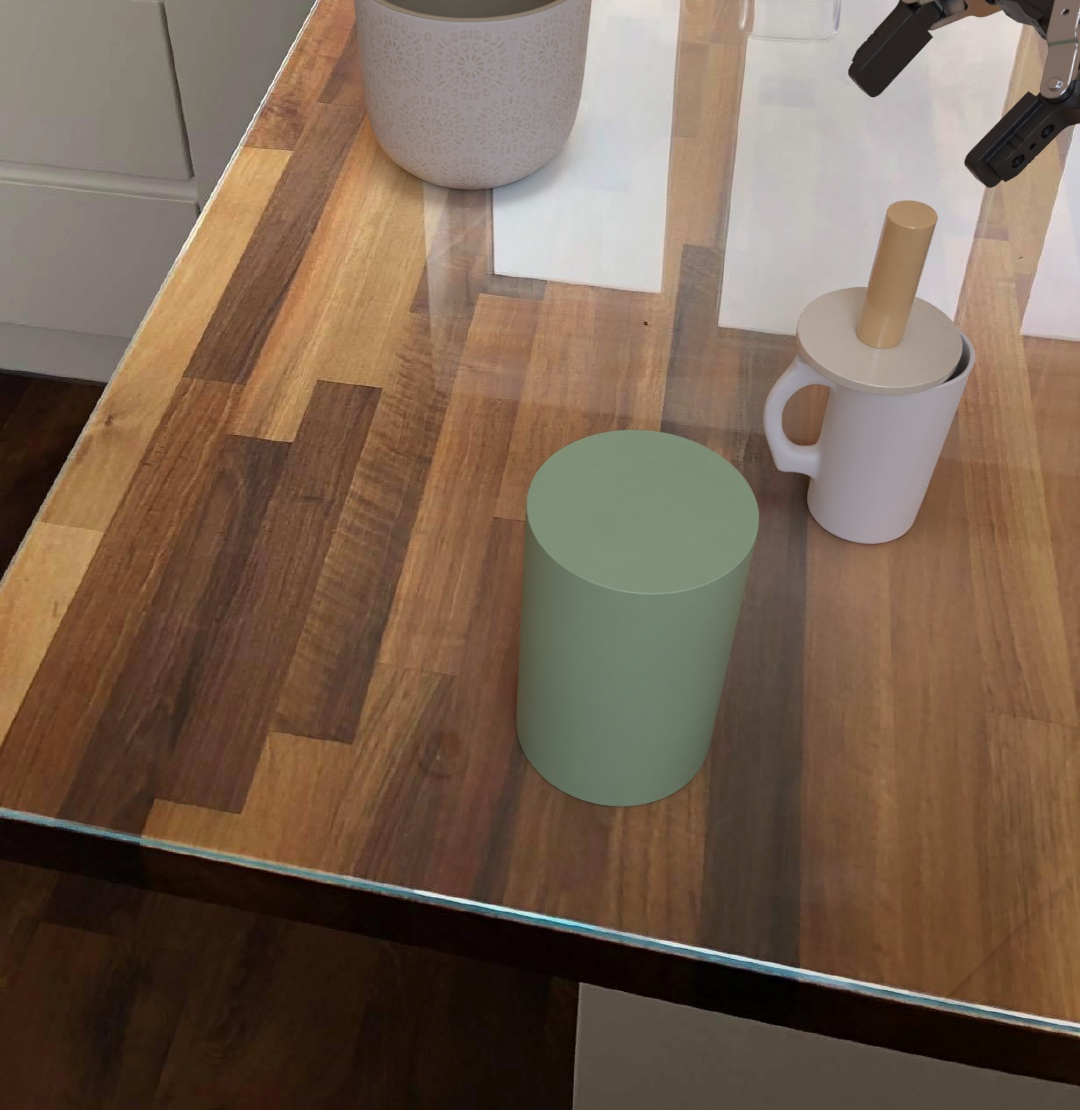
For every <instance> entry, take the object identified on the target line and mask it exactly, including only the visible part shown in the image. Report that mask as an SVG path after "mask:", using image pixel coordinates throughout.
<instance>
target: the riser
mask: <svg viewBox="0 0 1080 1110" xmlns="http://www.w3.org/2000/svg"><path fill="white" fill-rule="evenodd" d="M524 519H525V522H524V540H523V541H524V543H523V562H522V565H523V566H522V583H521V605H520V625H519V648H518V649H519V650H518V667H517V689H516V690H517V691H516V709H515V710H516V712H515V729H516V733H517V739H518V741H519V744H520V747H521V750H522V752H523V754H524V755H525V757H526V759H527V760H528V762H529V763H530V765H531V766H532V767H533V768H534V770H535V771H536V772H537V773H538V774H539V775H540V776H541V777H542V778H543V779H544V780H545V781H547V782H548V783H549V784H550V785H552V786H553V787H555V788H556V789H558V790H559V791H560V792H563V793H565V794H567V795H568V796H571V797H573V798H576V799H578V800H581V801H584V802H585V803H586V802H587V803H591V804H595V805H599V806H608V807H635V806H642V805H646V804H651V803H654V802H657V801H660V800H663V799H665V798H667V797H669V796H671V795H674V794H675V793H676V792H678V791H680V790H681V789H683V788H684V787H685V786H686V785H687V784H689V782H690V781H692V780H693V779H694V777H695V776H696V775H697V774H698V773H699V772H700V770H701V769H702V767H703V765H704V763H705V762H706V759H707V756H708V754H709V751H710V747H711V742H712V737H713V734H714V730H715V724H716V721H717V715H718V711H719V707H720V703H721V698H722V694H723V690H724V689H723V688H724V684H725V680H726V676H727V671H728V667H729V663H730V658H731V654H732V649H733V644H734V640H735V637H736V633H737V632H736V631H737V627H738V622H739V619H740V614H741V609H742V604H743V600H744V595H745V591H746V587H747V583H748V577H749V574H750V568H751V564H752V560H753V556H754V551H755V547H756V542H757V538H758V533H759V529H760V510H759V506H758V502H757V499H756V496H755V493H754V491H753V489H752V488H751V486H750V484H749V481H747V480H746V478H745V477H744V476H743V475H742V473H741V472H740V471H739V470H738V469H737V468H736V467H735V466H734V465H733V464H732V463H731V462H730V461H728V460H727V459H726V458H725V457H723V456H722V455H721V454H719V453H718V452H716V451H715V450H713V449H711V448H709V447H708V446H705V445H703V444H701V443H699V442H697V441H694V440H691V439H689V438H686V437H684V436H680V435H676V434H673V433H668V432H663V431H658V430H646V429H619V430H608V431H604V432H599V433H595V434H592V435H588V436H584V437H582V438H580V439H577V440H575V441H572V442H570V443H569V444H567V445H565V446H563V447H562V448H560V449H559V450H557V451H556V452H555V453H553V454H552V455H550V457H549V458H547V459H546V460H545V461H544V462H543V463H542V464H541V466H540V467H539V468H538V469H537V471H536V473H535V474H534V476H533V478H532V479H531V481H530V484H529V487H528V490H527V495H526V501H525V518H524Z"/></svg>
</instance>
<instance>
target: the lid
mask: <svg viewBox="0 0 1080 1110" xmlns="http://www.w3.org/2000/svg"><path fill="white" fill-rule="evenodd" d="M938 219H939V216H938V213H937V211H936V210H935V209H934V208H933V207H932V206H930V205H928V204H927V203H925V202H921V201H916V200H911V199H909V200H899V201H896V202H893V203H892V204H890V205H889V206H888V207H887V209H886V212H885V216H884V219H883V224H882V227H881V232H880V235H879V239H878V243H877V246H876V250H875V255H874V258H873V263H872V267H871V270H870V275H869V278H868V282H867V285H866V286H856V287H855V286H854V287H853V286H852V287H846V288H841V289H837V290H833V291H830V292H826V293H825V294H823V295H820V296H818V297H817V298H815V299H813V300H812V301H810V302H809V304H807V305H806V307H804V309H803V310H802V312H801V313H800V315H799V317H798V320H797V325H796V328H795V329H796V330H795V342H796V346H797V349H798V350H799V353H801V355H802V356H803V358H804V359H805V360H806V362H807V363H808V364H809V365H810V366H811V367H812V368H813V369H815V370H816V371H817V372H818V373H820V374H821V375H823V376H824V377H825V378H827V379H829V380H831V381H833V382H835V383H837V384H839V385H842V386H844V387H847V388H850V389H853V390H856V391H860V392H864V393H870V394H876V395H909V394H914V393H919V392H923V391H926V390H929V389H931V388H934V387H936V386H938V385H940V384H941V383H943V382H944V381H946V380H947V379H948V378H949V377H950V376H951V375H952V374H953V373H954V372H955V370H956V368H957V366H958V364H959V361H960V358H961V355H962V348H963V345H962V338H961V336H960V333H959V331H958V329H957V327H958V326H957V325H956V324H955V323H954V321H953V320H952V319H951V318H950V317H949V316H948V315H947V314H946V313H945V312H943V311H942V310H941V309H940V308H938V307H937V306H935V305H934V304H932V303H930V302H928V301H926V300H925V299H922V298H920V297H918V296H916V295H917V292H918V289H919V285H920V282H921V278H922V275H923V272H924V268H925V264H926V260H927V257H928V254H929V250H930V248H931V244H932V240H933V237H934V233H935V230H936V226H937V222H938Z"/></svg>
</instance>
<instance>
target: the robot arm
mask: <svg viewBox="0 0 1080 1110" xmlns="http://www.w3.org/2000/svg"><path fill="white" fill-rule="evenodd" d="M999 12H1003V13H1004V15H1005V16H1006V17H1008V18H1010V19H1011V20H1013V21H1014V22H1016V23H1018V24H1023V25H1027V26H1031V27H1033V28H1034V29H1035V31H1036V32H1037V34H1038V35H1039V36H1040V38H1041V39H1043V40H1045V41H1046V44H1047V55H1046V59H1045V63H1044V68H1043V73H1042V77H1041V81H1040V85H1039V93H1038V94H1033V93H1032V92H1031V91H1029V90H1028V91H1026V93H1025V94H1024V95H1023V96H1021V98H1019V100H1017V102H1016V103H1015V104H1014V105H1013V106H1012V107H1011V108H1010V109H1009V110H1008V112H1006V113H1005V114H1004V116H1002V117H1001V118H1000V120H998V122H997V123H996V124H994V126H993V127H992V128H991V129H990V130H989V131H988V132H987V133H986V134H985V135H984V136H983V137H982V138H981V139H980V140H979V141H978V142H977V143H976V144H975V145H974V146H973V148H971V150H969V152H968V153H967V154H966V156H965V158H964V162H963V164H964V166H965V168H966V169H967V170H968V171H969V172H970V173H971V175H972V176H973V177H974V178H975V179H976V180H977V181H978V182H980V183H981V184H982V185H984V187H986V188H988V189H990V188H995V187H996V186H997V185H999V184H1000V183H1001V182H1002V181H1003V182H1004V183H1007V182H1009V181H1010V180H1013V179H1014V178H1016V177H1018V176H1019V175H1020V174H1021V173H1022V172H1023V171H1024V170H1025V169H1026V168H1027V167H1028V165H1029V164H1031V163H1032V162H1033V161H1034V160H1035V159H1036V157H1037V156H1039V155H1040V154H1041V153H1042V152H1043V151H1044V149H1045V148H1047V146H1049V145H1050V144H1051V143H1052V142H1053V141H1054V139H1055V138H1057V137H1058V136H1059V135H1060V133H1062V132H1063V131H1064V130H1066V129H1067V128H1068V127H1072V126H1076V125H1080V0H898V2H897V5H896V6H895V7H894V8H893V9H892V11H890V12H889V14H888V15H887V16H886V17H885V18H884V19H883V21H882V22H881V23H880V24H879V25H878V26H877V27H876V28H875V29H874V31H873V32H872V33H871V34H870V35H869V36H868V37H867V38H866V40H865V41H863V43H861V45H860V46H859V47H858V48H857V49H856V51H855V53H854V55H853V57H852V58H851V64H850V65H849V68H848V70H847V75H848V77H849V78H850V79H851V81H852V82H853V83H854V84H855V85H856V86H857V87H858V88H859V89H860V90H861V91H862V92H863V93H865V94H866V95H867V96H869V97H870V98H876V97H879V96H880V95H881V94H883V92H884V91H885V90H886V89H887V88H888V87H889V86H890V84H891V83H893V81H895V79H896V78H897V77H898V76H899V75H900V74H901V73H902V72H903V71H904V69H905V68H906V67H907V66H908V65H909V64H910V63H911V62H912V61H913V60H914V59H915V58H916V57H917V55H918V54H919V53H920V52H921V51H922V50H923V49H924V48H925V47H926V45H928V43H929V42H930V41H931V40H932V39H933V38H934V36H933V35H932V33H931V32H932V31H935V30H938V29H940V28H943V27H945V26H948V25H951V24H953V23H955V22H958V21H961V20H963V19H965V18H968V17H976V18H986V17H989V16H991V15H994V14H997V13H999ZM930 31H931V32H930Z"/></svg>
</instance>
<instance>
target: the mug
mask: <svg viewBox="0 0 1080 1110" xmlns="http://www.w3.org/2000/svg"><path fill="white" fill-rule="evenodd" d="M956 327H957V329H958V331H959V333H960V336H961V338H962V345H963V348H962V355H961V358H960V361H959V364H958V366H957V368H956V370H955V372H954V373H953V374H952V375H951V376H950V377H949V378H948V379H947V380H946V381H944V382H943V383H941V384H940V385H938V386H936V387H934V388H931V389H929V390H926V391H923V392H919V393H914V394H909V395H876V394H870V393H864V392H860V391H856V390H853V389H850V388H847V387H844V386H842V385H839V384H837V383H835V382H833V381H831V380H829V379H827V378H825V377H824V376H823V375H821V374H820V373H818V372H817V371H816V370H815V369H813V368H812V367H811V366H810V365H809V364H808V363H807V362H806V360H805V359H804V358H803V356H802V355H801V353H800V352H798V353H796V354H795V356H794V357H793V360H792V362H791V364H790V365H789V366H788V367H787V368H786V369H785V371H783V373H782V374H781V375H780V377H779V378H778V379H777V381H776V382H775V383H774V385H773V386H772V387H771V389H770V391H769V393H768V394H767V397H766V398H765V403H764V405H763V406H764V407H763V412H762V423H763V431H764V435H765V438H766V441H767V443H768V444H767V445H768V447H769V450H770V453H771V456H772V460H773V463H774V465H775V467H776V469H777V470H778V471H780V472H784V473H799V474H803V475H806V476H808V477H809V478H810V480H809V485H808V490H807V494H806V503H807V507H808V510H809V513H810V514H811V516H812V518H813V519H814V520H815V522H817V524H818V525H819V526H820V527H821V528H823V529H824V530H825V531H827V532H828V533H830V534H831V535H834V536H835V537H838V538H840V539H843V540H846V541H848V542H853V543H857V544H864V545H865V544H866V545H875V544H876V545H877V544H884V543H887V542H888V543H889V542H892V541H894V540H896V539H898V538H900V537H902V536H904V535H905V534H906V533H907V532H908V531H910V530H911V528H912V526H913V524H914V522H915V521H916V518H917V516H918V513H919V510H920V508H921V506H922V503H923V501H924V499H925V495H926V493H927V492H928V491H927V490H928V488H929V485H930V483H931V479H932V477H933V474H934V472H935V468H936V466H937V463H938V461H939V459H940V458H939V457H940V455H941V453H942V450H943V447H944V445H945V442H946V439H947V437H948V434H949V431H950V429H951V427H952V424H953V421H954V418H955V415H956V413H957V410H958V407H959V405H960V402H961V399H962V397H963V394H964V391H965V389H966V385H967V383H968V380H969V376H970V373H971V371H972V369H973V367H974V364H975V360H976V351H975V347H974V345H973V343H972V341H971V340H970V339H969V337H968V336H967V335H966V333H965V332H964V331H962V330H961V329H960V328H959V327H958V326H956ZM812 385H821V386H825V387H827V388H829V389H830V390H829V394H828V398H827V403H826V408H825V413H824V417H823V421H822V426H821V429H820V434H819V437H818V440H817V441H816V443H814V444H810V445H799V444H795V443H794V442H792V441H791V440H790V439H789V438H788V437H787V435H786V433H785V432H784V429H783V412H784V410H785V406H786V404H787V402H788V401H789V400H790V398H791V397H792V396H793V395H794V394H795V393H797V391H799V390H801V389H802V388H804V387H807V386H812Z"/></svg>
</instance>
